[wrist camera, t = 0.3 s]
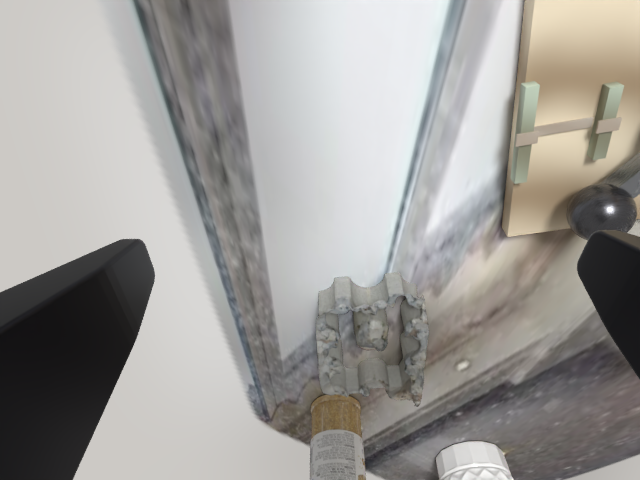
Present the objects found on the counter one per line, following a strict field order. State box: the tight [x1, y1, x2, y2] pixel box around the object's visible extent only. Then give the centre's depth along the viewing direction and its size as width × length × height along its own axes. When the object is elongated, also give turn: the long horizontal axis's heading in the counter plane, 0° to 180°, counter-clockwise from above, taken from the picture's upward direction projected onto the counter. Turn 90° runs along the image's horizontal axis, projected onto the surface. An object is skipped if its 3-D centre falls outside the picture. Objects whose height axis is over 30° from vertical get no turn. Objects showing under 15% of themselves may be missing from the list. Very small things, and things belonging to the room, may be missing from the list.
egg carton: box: [316, 272, 429, 407], centre depth 29 cm, size 11×8×4 cm
